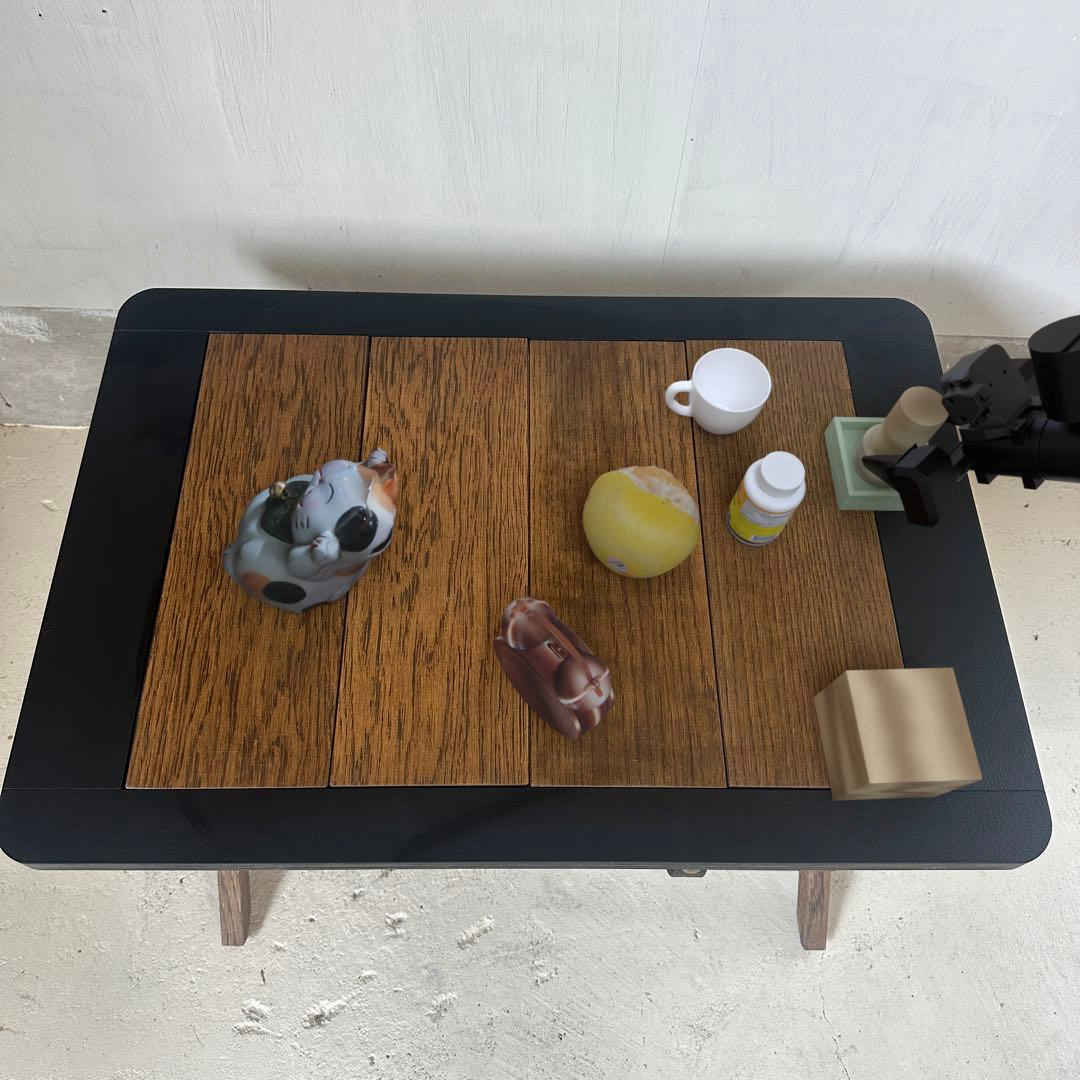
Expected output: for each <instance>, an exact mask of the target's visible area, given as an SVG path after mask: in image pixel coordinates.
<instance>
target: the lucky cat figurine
mask: <svg viewBox="0 0 1080 1080" xmlns="http://www.w3.org/2000/svg"><path fill="white" fill-rule="evenodd" d="M398 478H399V477H398V474H397V465H396V464H394V463H393V464H392V463H391V462H390V459H388V455H387V451H386V450H383V448H381V447H378V448H377V450H374V451H372V452H371V453H369V456H368V458H367V459H366V460H365V461H359V462H353V461H350V460H346V459H333V460H331V461H328V462H325V463H324V464H323V465H321V467H320V468H319V469H317V470H316V471H314V472H313V473H312V474H298V475H295V476H292V477H290V478H289V479H287V480H285V481H284V480H280V479H279V480H277V481H275V482H272V484H270V486H269V487H268V488H266V489H264V490H262V491H261V492H259V493H258V494H257V495H255V496H254V497H253V498H252V499H251V500H250V502H249V503H248V504H247V506H246V508H245V511H243V514H242V516H241V518H240V520H239V522H238V526H237V535H236V537H235V539H234V541H232V542H231V543H230V544H228V545H227V546H226V547H225V548H224V550H223V551H222V553H221V560H222V565H223V568H224V570H225V573H226V574H227V575H228V577H230V579H231V580H232V581H233V583H235V584H236V585H237V586H238V588H240V589H241V590H242V591H244V592H245V593H246V594H248V595H249V596H250V597H252V598H254V599H255V600H257V601H259V602H261V603H262V604H265V605H266V606H267V605H268V606H270V607H273V608H276V609H281V610H284V611H289V612H291V613H294V614H299V615H303V614H304V613H306V612H308V611H310V610H312V609H314V608H315V607H320V606H325V605H333V604H335V603H336V602H340V601H341V600H342V599H344V597H345V596H346V595H347V594H348V592H349V591H350V590H351V589H352V587H353V586H354V585H355V584H356V583H357V582H358V581H359V580H360V579H361V578H362V577H363V576H364V574H365V572H366V571H367V569H368V567H369V565H370V562H371V561H373V560H374V559H376V558H377V557H378V556H380V555H381V554H382V552H384V551H385V550H386V549H388V547H389V546H390V544H391V541H392V539H393V537H394V524H395V523H394V521H395V519H396V516H397V515H396V514H397V507H396V500H397V498H398V494H399V479H398Z"/></svg>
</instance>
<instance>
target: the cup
mask: <svg viewBox="0 0 1080 1080" xmlns="http://www.w3.org/2000/svg"><path fill="white" fill-rule="evenodd" d="M771 392H772V378H771V374H770V373H769V370H768V369H767V367H766V365H765V364H764V363H763V362H762V361H761V360H760V359H758V358H757V357H756V356H755V355H753V354H752V353H749V352H747V351H745V350H741V349H739V348H733V347H732V348H731V347H722V348H717V349H714V350H711V351H709V352H708V351H707V353H705V354H703V355H702V356H701V357H700V358H699V359H698V360H697V361H696V363H695V365H694V367H693V371H692V374H691V378H690V380H679V381H675V382H673V383H671V384H670V385H669V386H668V387H667V389H666V390H665V392H664V402H665V404H666V406H667V407H668V408H669V410H671V411H673V412H674V413H675V414H677V415H680V416H682V417H689V418H691V417H692V418H693V419H694V420H695V422H696V423H697V425H698V426H699V427H700V428H701V429H702V430H703V431H705V432H707V433H709V434H711V435H715V436H717V435H718V436H724V435H730V434H735V433H737V432H739V431H740V430H742V429H743V430H744V429H745V428H746V427H747V426H749V425H750V424H751V423H752V422H753V421H754V420H755V419H757V417H758V416H759V415H760V413H761V411H762V410H763V408H764V407H765V405H766V403H767V401H768V398H769V396H770V394H771ZM678 393H687V394H688V395H687V397H688V399H687V400H688V405H683V404H681V403H679V402H678V401H677V400H676V399H675V396H676V395H677V394H678Z"/></svg>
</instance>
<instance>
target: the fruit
mask: <svg viewBox="0 0 1080 1080" xmlns="http://www.w3.org/2000/svg"><path fill="white" fill-rule="evenodd" d="M699 520H700V512H699V509H698V505H697V504H696V501H695V499H694V498H693V497H692V496H691V494H689V492H688V489H687V488H686V487H685V485H684V484H683V483H682V482H680V481H679V479H677V478H675V476H674V475H673V474H672V472H670V471H668V470H666V469H664V468H660V467H658V466H657V465H647V466H638V465H632V466H628V467H618V469H616V470H611V471H609V472H605V473H603V474H600V475H599V477H598V478H596V480H595V481H594V483H593V484H592V487H591V488H590V490H589V492H588V494H587V497H586V500H585V502H584V506H583V510H582V525H583V530H584V534H585V537H586V539H587V543H588V545H589V547H590V549H591V550H592V552H593V554H594V556H595V557H596V558H597V559H598V560H599V562H601V564H603V565H604V566H605V567H606V568H608V570H610V571H611V572H613V573H615V574H618V575H621V576H623V577H627V578H631V579H650V578H655V577H658V576H661V575H664V574H665V573H667V572H669V571H671V570H673V569H674V568H676V567H678V566H679V565H680V564H682V563H683V562H684V561H686V559H687V558H688V557H689V556H690V555H691V553H692V552H693V551H694V550H695V548H696V546H697V544H698V542H699V539H700V533H701V531H700V526H699V522H700V521H699Z"/></svg>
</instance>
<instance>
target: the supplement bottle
mask: <svg viewBox="0 0 1080 1080" xmlns="http://www.w3.org/2000/svg"><path fill="white" fill-rule="evenodd" d="M805 476H806V470H805V467H804V464H803V463H802V461H801V460H800V459H799V458H798V457H797V456H795V455H794V454H792V453H791V452H787V451H782V450H781V451H780V450H779V451H778V450H777V451H773V452H770V453H768V454H767V455H766V456H765V457H763V458H760V459H757V460H756V461H754V462H753V463H752V464H751V465H750V466H749V467H748V469H747V470H746V472H745V474H744V476H743V478H742V480H741V482H740V484H739V486H738V488H737V490H736V492H735V493H734V496H733V498H732V500H731V502H730V504H729V506H728V508H727V511H726V525H727V528H728V530H729V531H730V533H731V535H732V536H733V537H735V538H736V539H737V540H738V541H740V543H743V544H746V545H749V546H753V547H759V546H765V545H768V544H771V543H772V542H774V541H775V540H776V539H777V538H778V537H779V535H780V534H781V532H782V531H783V530H784V528H785V526H786V525H787V524H788V523H789V520H790V519H791V518H792V516H793V515H794V513H795V511H796V510H797V508H798V507H799V505H800V504H801V502H802V501H803V499H804V497H805V495H806V481H805V478H806V477H805Z"/></svg>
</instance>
